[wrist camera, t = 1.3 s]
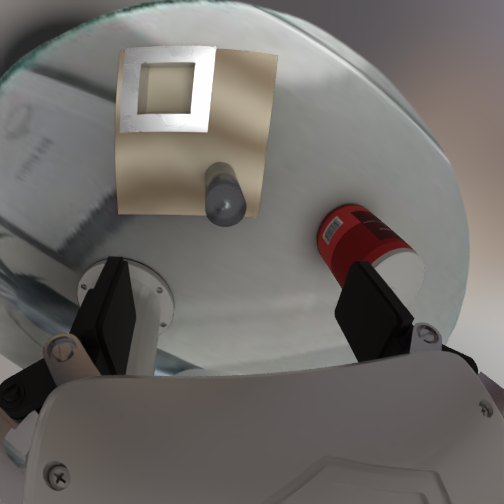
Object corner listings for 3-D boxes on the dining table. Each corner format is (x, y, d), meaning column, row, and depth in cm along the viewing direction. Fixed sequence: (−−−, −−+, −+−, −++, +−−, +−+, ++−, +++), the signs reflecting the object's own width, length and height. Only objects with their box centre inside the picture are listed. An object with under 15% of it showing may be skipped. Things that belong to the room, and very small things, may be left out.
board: (255, 212, 30) (257, 217, 29) (121, 209, 27) (118, 214, 26) (275, 57, 22) (278, 55, 21) (124, 52, 19) (120, 50, 18)
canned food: (317, 269, 35) (353, 332, 25) (312, 209, 30) (358, 264, 21) (371, 254, 35) (417, 309, 26) (373, 197, 31) (432, 243, 21)
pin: (234, 191, 27) (244, 227, 20) (204, 190, 26) (204, 226, 20) (236, 162, 26) (248, 189, 19) (206, 161, 25) (206, 187, 18)
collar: (207, 128, 23) (207, 132, 20) (130, 127, 22) (119, 132, 19) (215, 53, 20) (216, 46, 17) (135, 54, 19) (125, 48, 16)
